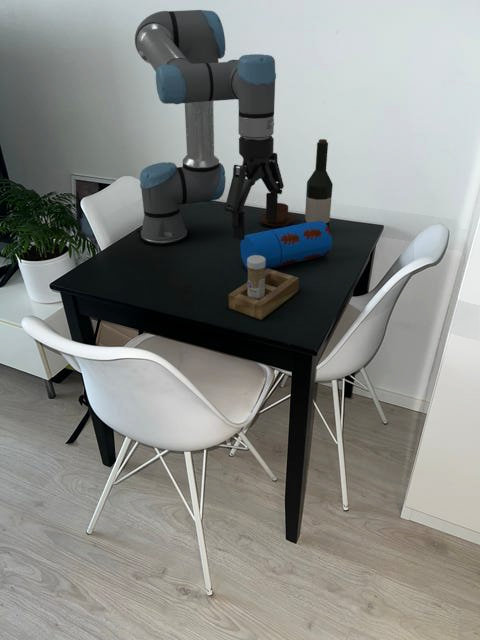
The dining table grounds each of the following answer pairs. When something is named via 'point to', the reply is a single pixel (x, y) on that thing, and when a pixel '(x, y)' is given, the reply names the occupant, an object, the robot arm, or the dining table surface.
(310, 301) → the dining table surface
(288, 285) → the holder
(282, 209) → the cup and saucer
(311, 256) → the thermos
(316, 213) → the wine bottle
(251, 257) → the spice jar
